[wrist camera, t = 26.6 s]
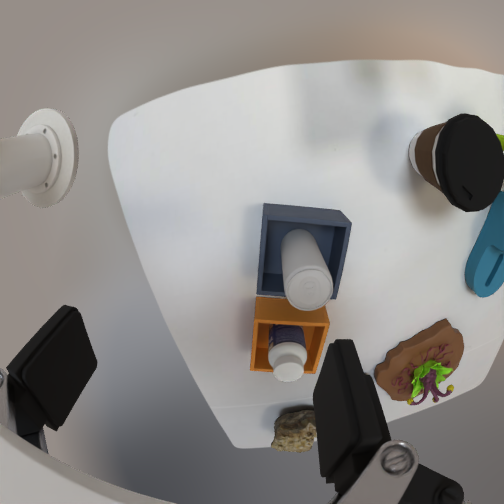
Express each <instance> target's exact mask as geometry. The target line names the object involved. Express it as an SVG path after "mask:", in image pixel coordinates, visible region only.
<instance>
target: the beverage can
mask: <svg viewBox="0 0 504 504" xmlns="http://www.w3.org/2000/svg"><path fill="white" fill-rule="evenodd" d="M281 259H282V271H283V282H284V291H285V295H286V297H287V299H288V301H289V302H290V304H291V305H292V306H294V307H295V308H297V309H299V310H304V311H312V310H316V309H318V308H321V307H322V306H324V305H325V304H326V303H327V302H328V301H329V300H330V298H331V296H332V293H333V281H332V277H331V275H330V272H329V270H328V268H327V265H326V263H325V261H324V259H323V257H322V254H321V252H320V250H319V247H318V245H317V243H316V240H315V239H314V237H313V236H312V234H311V233H310V232H308V231H307V230H303V229H295V230H292V231H290V232H288V233H287V234H286V235H285V237H284V238H283V240H282V243H281Z"/></svg>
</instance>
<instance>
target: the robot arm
mask: <svg viewBox="0 0 504 504" xmlns="http://www.w3.org/2000/svg"><path fill="white" fill-rule="evenodd" d="M61 160H62V153H61V146H60V142H59V139H58V136H57V134H56V133H55V131H54V130H53V129H52V128H51V127H49V126H48V125H44V124H41V125H35V126H33V127H31V128H30V129H29V130H28V131H27V132H26V133H25V134H24V135H20V136H13V137H8V138H1V139H0V199H3V198H5V197H8V196H10V195H13V194H16V193H18V192H21V191H24V190H26V189H28V190H29V191H30V192H32V193H35V194H40V193H43V192H46V191H48V190H49V189H50V188H51V187H52V186H53V185H54V183H55V182H56V180H57V178H58V175H59V172H60V168H61ZM6 368H7V370H8V372H9V374H8V375H7V374H6V372H5V371H4V370H3V369H0V504H176V503H171V502H167V501H163V500H159V499H156V498H152V497H148V496H145V495H142V494H139V493H135V492H132V491H129V490H126V489H123V488H121V487H118V486H115V485H112V484H110V483H107V482H105V481H102V480H100V479H97V478H95V477H93V476H90V475H88V474H86V473H84V472H82V471H80V470H77V469H75V468H73V467H71V466H69V465H67V464H65V463H63V462H61V461H60V460H58V459H56V458H54V457H52V456H50V455H49V454H48V449H47V445H46V440H45V435H44V430H43V426H44V424H46V426H47V427H49V428H51V429H53V430H55V431H57V430H58V428H59V426H62V425H63V424H64V422H65V420H66V418H67V416H68V415H69V413H70V411H71V410H72V408H73V406H74V404H75V403H76V401H77V399H78V398H79V396H80V394H81V392H82V391H83V389H84V387H85V386H86V384H87V382H88V381H89V379H90V378H91V376H92V374H93V373H94V371H95V370H96V368H97V359H96V357H95V354H94V351H93V349H92V346H91V343H90V340H89V337H88V334H87V332H86V329H85V326H84V322H83V319H82V316H81V314H80V312H79V311H78V309H77V308H75V307H71V306H67V305H63V306H62V307H61V308H60V309H59V310H58V311H57V312H56V313H55V314H54V315H53V316H52V317H51V318H50V319H49V320H48V321H47V322H46V323H45V324H44V325H43V326H42V328H40V330H39V331H38V332H37V333H36V334H35V335H34V336H33V337H32V338H31V339H30V341H29V342H28V343H27V344H26V345H25V346H24V347H23V349H22V350H21V351H20V352H19V353H18V354H17V355H16V357H15V358H14V359H13V360H12V361H11V363H10V364H9V365H8V366H7V367H6ZM313 404H314V413H315V422H316V431H317V441H318V452H319V462H320V474H321V476H322V477H326V483H335V491H336V492H337V493H336V494H335V496H334V497H333V498H332V499H331V500H330V501H329V502H328V504H472V503H471V502H470V501H467V502H465V501H464V500H463V499H464V492H463V489H462V487H461V486H460V484H458V483H457V482H456V481H454V480H451V479H449V478H447V477H445V476H443V475H441V474H439V473H437V472H435V471H433V470H431V469H429V468H427V467H425V466H423V465H421V464H419V456H418V453H417V451H416V449H415V448H414V447H413V446H412V445H411V444H409V443H408V442H405V441H402V440H391V437H390V433H389V430H388V426H387V423H386V420H385V416H384V413H383V410H382V407H381V403H380V400H379V397H378V394H377V391H376V388H375V385H374V382H373V379H372V377H371V376H370V375H364V372H363V369H362V366H361V363H360V360H359V357H358V354H357V351H356V348H355V345H354V342H353V340H351V339H336V340H335V342H334V343H330V344H329V346H328V350H327V353H326V356H325V359H324V362H323V365H322V368H321V372H320V375H319V378H318V380H317V383H316V386H315V389H314V393H313Z"/></svg>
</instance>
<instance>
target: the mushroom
mask: <svg viewBox="0 0 504 504" xmlns="http://www.w3.org/2000/svg"><path fill="white" fill-rule="evenodd" d="M496 135H497V137H498V138H499V140H500V142H501V146H502V149H503V151H504V135H499V134H496Z"/></svg>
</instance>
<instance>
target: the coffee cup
mask: <svg viewBox="0 0 504 504" xmlns="http://www.w3.org/2000/svg"><path fill="white" fill-rule="evenodd" d="M409 158H410V160H411V163H412V165H413V168H414V169H415V170H416V171H417V172H418V174H419V175H421V176H422V177H423V178H424V179H425V180H426V181H427V182H429V183H430V184H431V185H433V186H434V187H436V188H437V189H438V190H440V191H441V192H442V193H444V195H445V196H446V197H447V199H448V200H449V202H450V203H451V204H452V205H454V206H456V207H458V208H459V209H461V210H463V211H465V212H474V211H480V210H483V209H484V208H486V207H487V206H489V205H490V204H492V203H493V202H494V200H495V199H496V197H497V195H498V194H499V192H500V190H501V187H502V184H503V180H504V153H503V149H502V146H501V142H500V140H499V138H498V137H497V135H496V133H495V132H494V130H493V128H492V127H490V126H489V125H488V124H487V123H486V122H484V121H483V120H482V119H481V118H479V117H478V116H475V115H470V114H459V115H457V116H455V117H453V118H451V119H449V120H448V121H447V122H445V123H442V124H438V125H435V126H432V127H429V128H427V129H425V130H423V131H421V132H419V133H417V134H416V135H415V137H414V138H413V139H412V141H411V144H410V147H409Z"/></svg>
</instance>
